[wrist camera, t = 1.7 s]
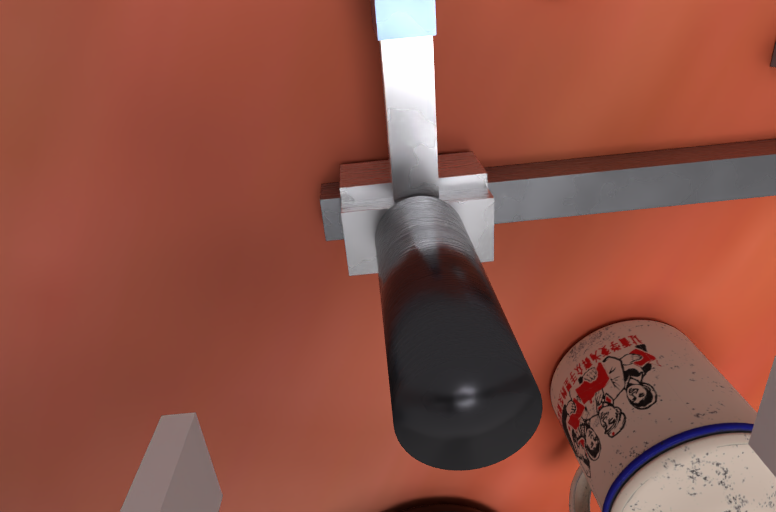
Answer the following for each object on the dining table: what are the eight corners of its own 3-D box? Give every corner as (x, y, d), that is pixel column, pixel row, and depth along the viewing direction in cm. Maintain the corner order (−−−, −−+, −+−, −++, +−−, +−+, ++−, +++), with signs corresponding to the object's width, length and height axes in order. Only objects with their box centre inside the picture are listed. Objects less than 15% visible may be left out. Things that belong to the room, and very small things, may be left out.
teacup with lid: (605, 289, 30) (744, 461, 19) (730, 345, 32) (913, 525, 22) (489, 441, 34) (551, 645, 24) (605, 480, 36) (707, 681, 26)
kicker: (350, 242, 27) (352, 488, 14) (305, -113, 20) (233, -256, 7) (472, 229, 27) (584, 462, 14) (468, -127, 20) (673, -293, 8)
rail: (327, 223, 27) (325, 240, 25) (321, 183, 26) (319, 199, 24) (873, 167, 27) (909, 181, 25) (886, 127, 26) (925, 138, 24)
